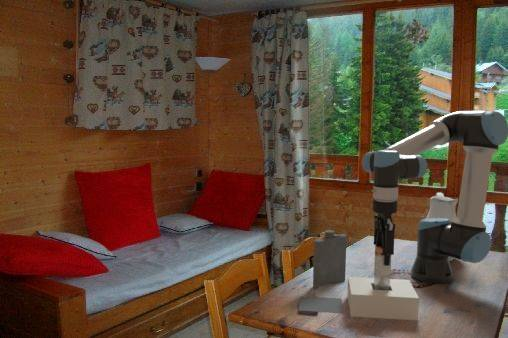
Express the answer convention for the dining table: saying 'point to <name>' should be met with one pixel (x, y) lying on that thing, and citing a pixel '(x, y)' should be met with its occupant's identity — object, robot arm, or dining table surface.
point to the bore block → (382, 299)
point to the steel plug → (380, 280)
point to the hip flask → (329, 259)
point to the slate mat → (320, 305)
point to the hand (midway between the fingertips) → (382, 271)
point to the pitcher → (442, 208)
